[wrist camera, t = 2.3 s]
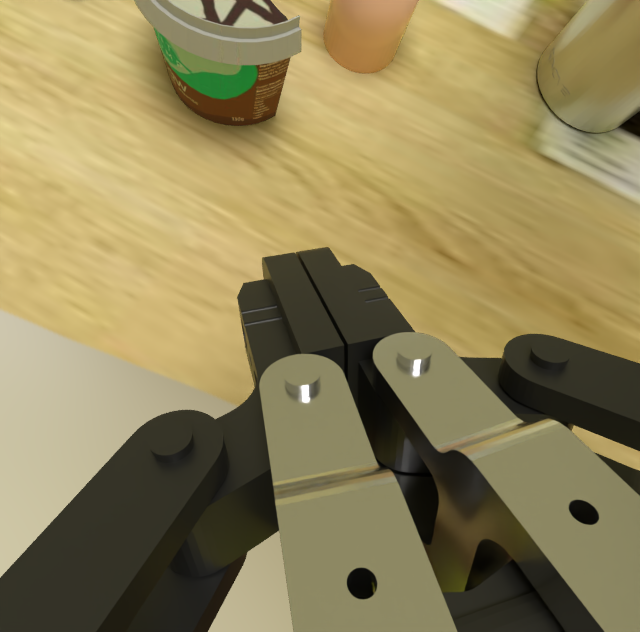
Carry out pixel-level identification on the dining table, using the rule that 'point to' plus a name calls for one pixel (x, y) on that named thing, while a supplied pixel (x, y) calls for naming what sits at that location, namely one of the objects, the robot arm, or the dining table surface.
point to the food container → (225, 55)
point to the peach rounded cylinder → (366, 32)
